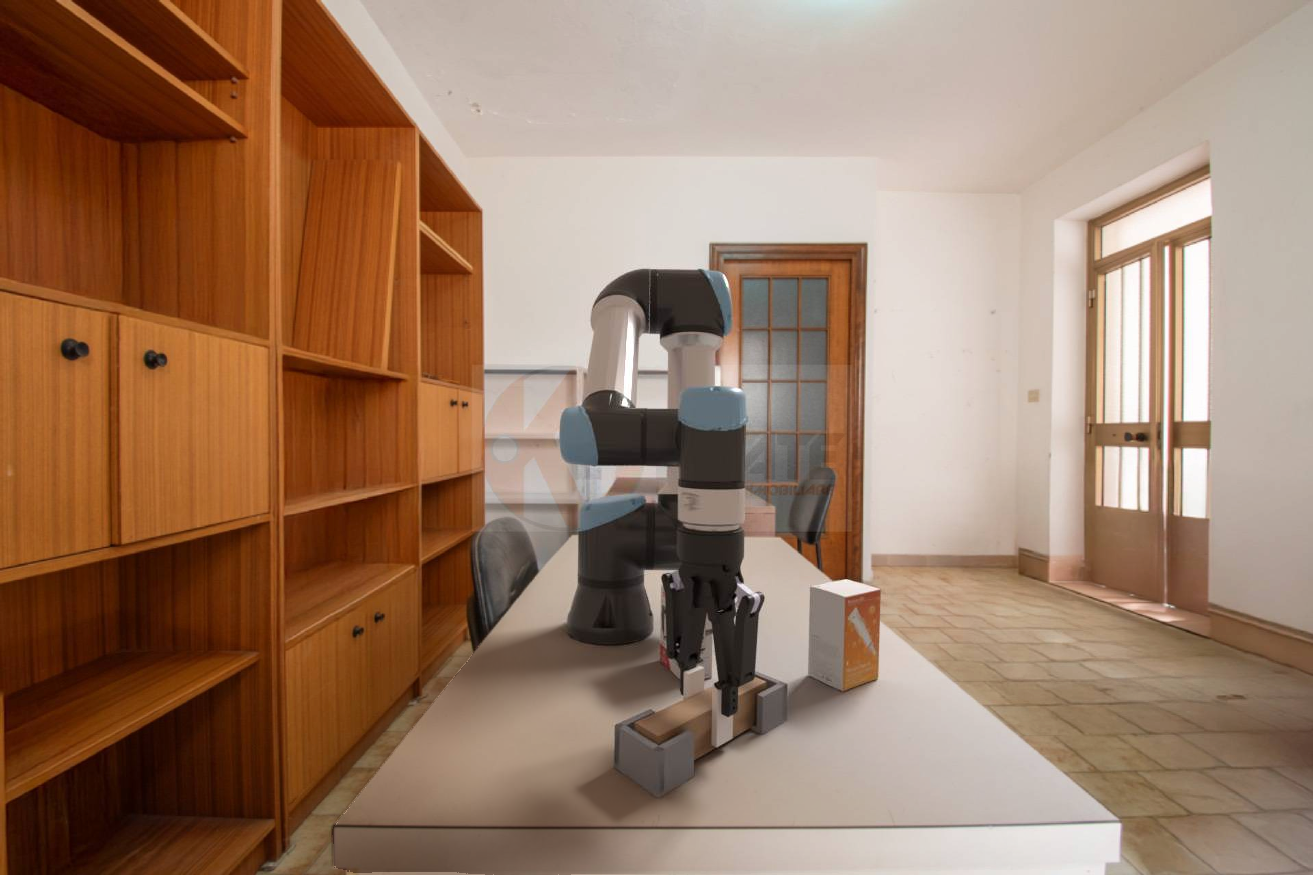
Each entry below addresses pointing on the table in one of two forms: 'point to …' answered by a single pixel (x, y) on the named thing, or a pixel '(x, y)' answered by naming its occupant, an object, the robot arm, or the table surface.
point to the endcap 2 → (770, 704)
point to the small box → (844, 633)
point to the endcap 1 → (653, 757)
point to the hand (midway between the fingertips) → (707, 733)
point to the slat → (700, 717)
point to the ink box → (671, 663)
